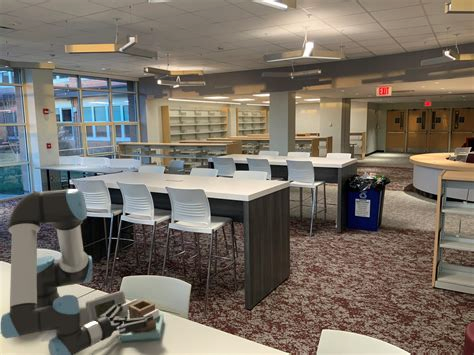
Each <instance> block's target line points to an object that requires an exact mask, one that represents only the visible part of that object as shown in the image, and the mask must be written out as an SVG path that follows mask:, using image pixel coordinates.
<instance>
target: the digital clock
mask: <svg viewBox="0 0 474 355" xmlns="http://www.w3.org/2000/svg"><path fill="white" fill-rule="evenodd" d="M118 303H121V305H123V304H125V303H127V300H126V297H125V292H124V290H119V291H115V292H111V293H109V294H105V295H102V296H99V297H95V298H94V299H91V300H88V301H86V302H85V308H86V313H87V319H88V323H89V322H91V321H94V320H96V319H98V318H100V315H102V314H104V313H105V312H106V311H108V310H109V309H110V308H111V307H112V306H113V305H115V304H117V306H118ZM128 316H129V310H127V311H125V312H122V311H121V313H120V315H119V317H120V318H128Z"/></svg>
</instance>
